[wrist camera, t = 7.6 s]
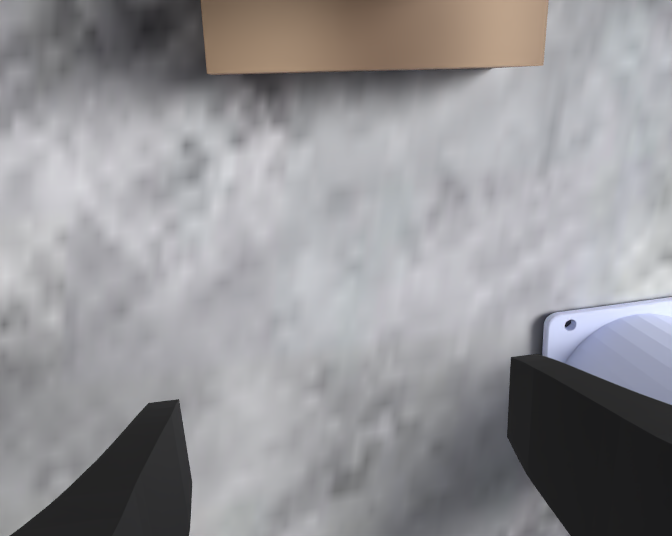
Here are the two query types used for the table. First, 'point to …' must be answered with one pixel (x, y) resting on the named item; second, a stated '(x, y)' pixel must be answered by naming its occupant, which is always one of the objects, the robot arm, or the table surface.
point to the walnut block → (371, 35)
